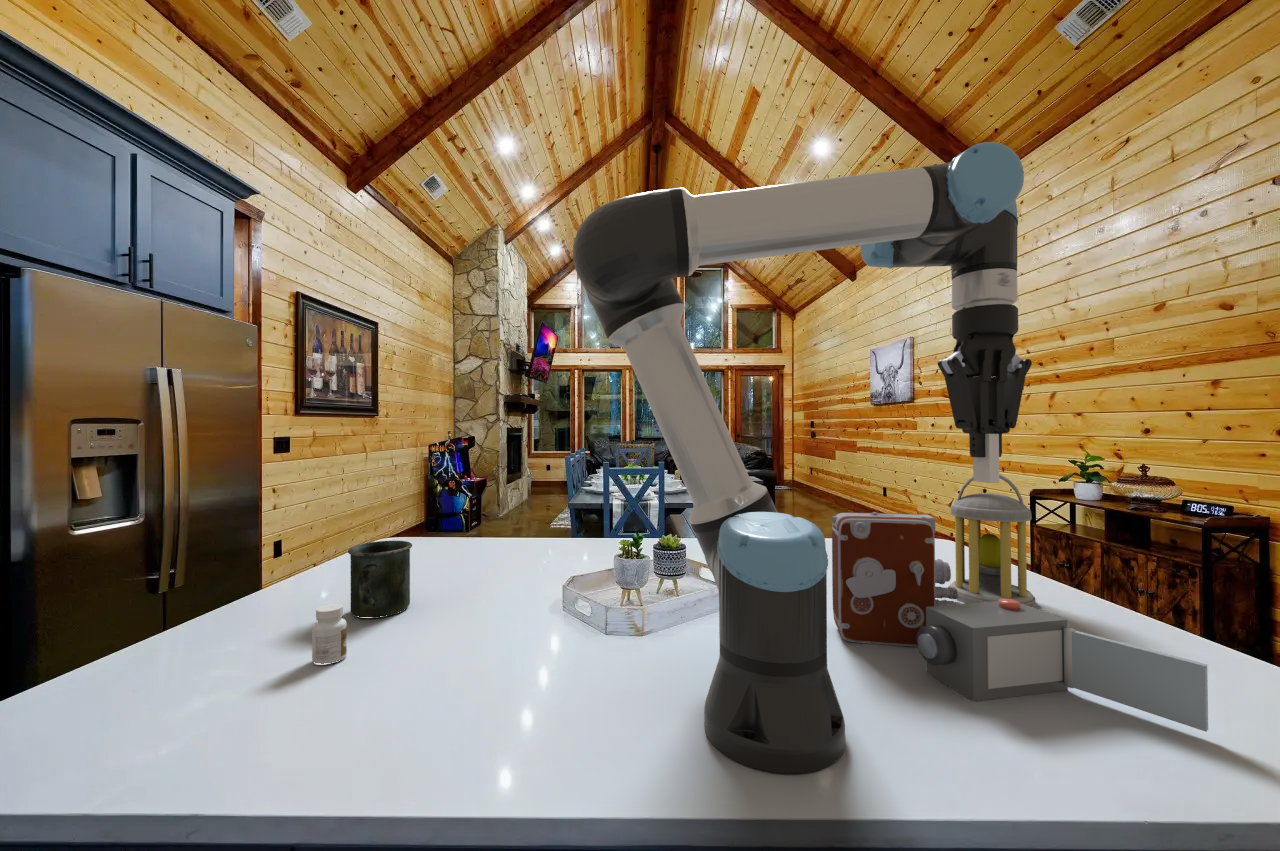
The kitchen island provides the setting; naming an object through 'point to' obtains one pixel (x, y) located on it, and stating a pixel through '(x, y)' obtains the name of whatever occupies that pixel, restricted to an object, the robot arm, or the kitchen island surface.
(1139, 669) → the side door
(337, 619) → the pill bottle
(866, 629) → the cine camera
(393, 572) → the mug
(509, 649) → the kitchen island surface
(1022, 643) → the camera block
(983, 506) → the lantern
